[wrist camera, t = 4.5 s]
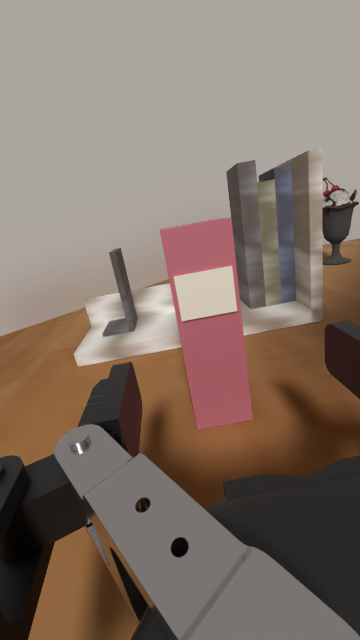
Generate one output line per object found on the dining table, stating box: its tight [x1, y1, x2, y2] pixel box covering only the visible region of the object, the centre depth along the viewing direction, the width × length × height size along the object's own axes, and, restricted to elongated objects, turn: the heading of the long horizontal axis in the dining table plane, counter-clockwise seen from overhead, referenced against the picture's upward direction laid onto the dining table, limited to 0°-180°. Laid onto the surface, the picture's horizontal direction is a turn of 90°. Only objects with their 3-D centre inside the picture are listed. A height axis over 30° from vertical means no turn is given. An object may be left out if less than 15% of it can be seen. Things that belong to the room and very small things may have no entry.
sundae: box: [322, 178, 359, 265], centre depth 51 cm, size 7×7×15 cm
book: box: [160, 218, 253, 430], centre depth 18 cm, size 4×5×12 cm
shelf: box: [74, 148, 323, 367], centre depth 31 cm, size 26×9×16 cm, turn 94°
